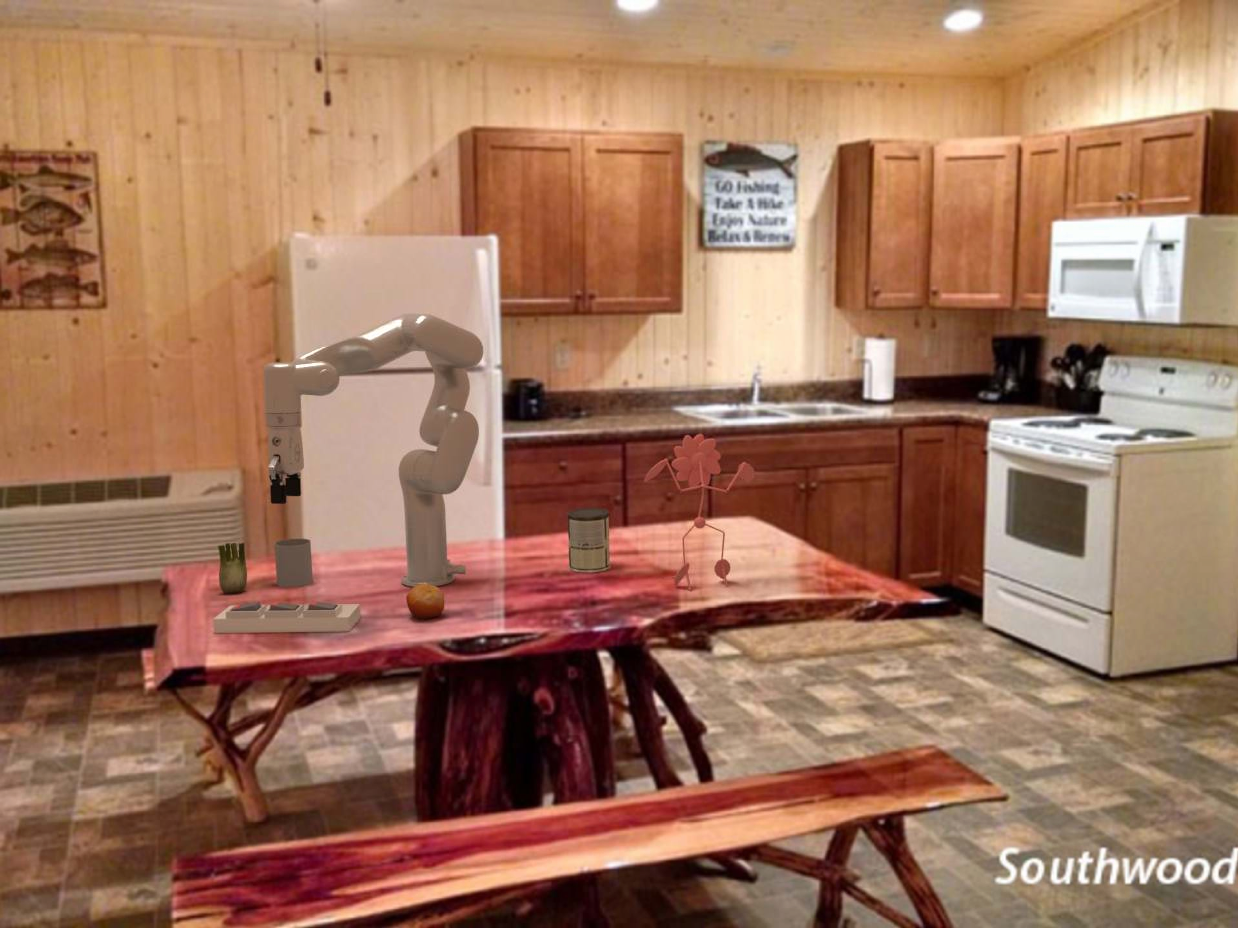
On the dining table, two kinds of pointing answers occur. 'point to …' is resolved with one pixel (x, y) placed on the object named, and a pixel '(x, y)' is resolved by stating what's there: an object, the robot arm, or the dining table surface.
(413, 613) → the fruit
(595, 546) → the coffee can
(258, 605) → the rocker
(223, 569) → the fennel bulb
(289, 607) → the rocker middle
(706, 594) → the dining table surface
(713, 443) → the figurine
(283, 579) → the cup
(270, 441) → the robot arm
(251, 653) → the dining table surface
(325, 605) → the rocker
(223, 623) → the power strip
